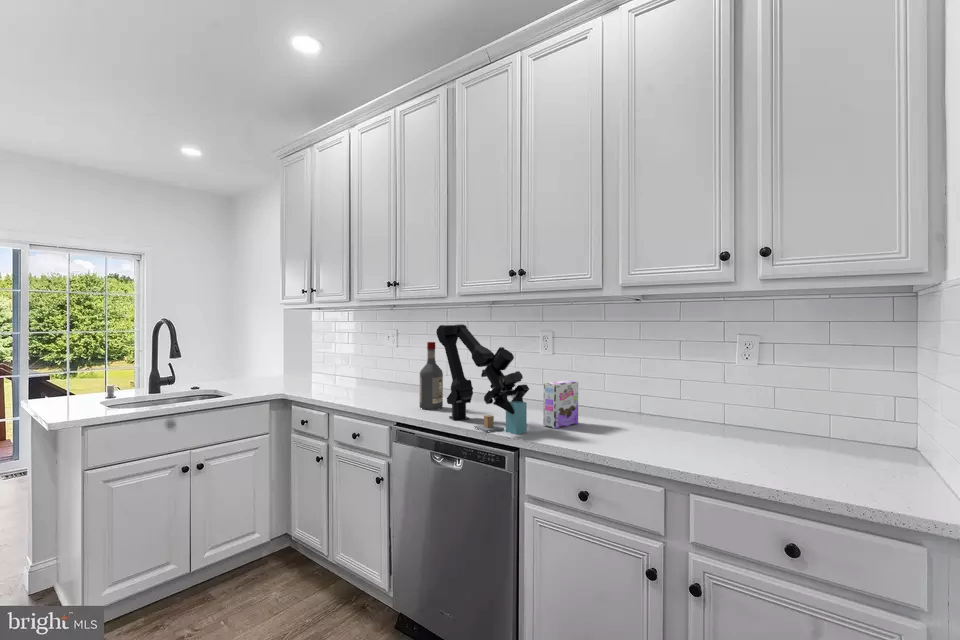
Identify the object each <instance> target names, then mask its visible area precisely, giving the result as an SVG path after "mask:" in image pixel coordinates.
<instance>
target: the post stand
mask: <svg viewBox="0 0 960 640" xmlns="http://www.w3.org/2000/svg"><path fill="white" fill-rule="evenodd" d="M494 418H495V416H494V415H491V414H487V415H484V416H483V424H480V425H473V428H474V427H475V428H477V429H480V430H482V431H484V432H483V433H485V432H486V433H489V432H488V431H493V432H496V431H495V430H500V431H504V430H505V427H503V426H501V425H497V424H494V423H495V422H494V420H495V419H494ZM477 429H476V430H477ZM480 430H479V431H480ZM482 431H481V432H482Z"/></svg>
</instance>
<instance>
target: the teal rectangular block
mask: <svg viewBox="0 0 960 640" xmlns="http://www.w3.org/2000/svg"><path fill="white" fill-rule="evenodd" d="M509 403H510V404H511V406H512V408H513V410H514V412H515V413H514V414H511V413H509V412H508V411H506V410H505V433H509V432H510V434H514V435H520V434H524V432H525V433H527V428H528V427H527V426H528V423H527V415H528V414H527V407H528V406H527V405H528V404H527V402H526V401H523V402H521V401H512V400H511V401H509Z"/></svg>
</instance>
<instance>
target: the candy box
mask: <svg viewBox="0 0 960 640" xmlns="http://www.w3.org/2000/svg"><path fill="white" fill-rule="evenodd" d="M542 423H543V427H546V428H551V429H553V430H554V429H559V428H563V427H569V426H570V427H571V426H573V425H574V426H575V425H578V424H579V382H578V381H575V380H574V381H572V380H561V381H551V382H544V383H543V422H542Z"/></svg>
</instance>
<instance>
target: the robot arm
mask: <svg viewBox="0 0 960 640" xmlns="http://www.w3.org/2000/svg"><path fill="white" fill-rule="evenodd" d="M436 336H437V338H438V342H439V343H440V344H441V345H442V346H443V347H444V350H445V355H446V360H447V363H448V366H449V371H450V374H451V375H450V376H451V378H452V379H451V380H452V381H451V384H450V393H449V395H448V396H447V397H446V401H447V404H448V405H451V415H449V416H448V418H449V419H451V420H454V421H460V420H459V419H463V420H470V418H469V417H468V416H467V404H468V403H469V404H470V403H471V402H472V398H473V394H474V392H473V390H474V388H473V384H472V380H471V379H467V378H466V377H465V374H464V370H463V369H464V368H463V365H462V363H461V362H462V361H461V359H460V355H459V351H458V346H457V343H458V342H457V341H458V339H459V340H460V341H461V343H463V344H464V346H465V347H466V348H467V350H468V351H469V352H470V353H471V360H472V361H473V363H474V364H475V366H476V367H478V368H482V367H485V369H482V370H481V374H480V377H481V378H485V377H487V379H488V381H489V382H490V389H489V390H488V391H487V392H486V393H485V395H484V397H483V400H484V402H485V404H486V405H490V404H493V405H494V406H496V407H499V408H501V409H503V410H504V411H505V412H506V411H508V412H509V413H511V414H514V413H515V412H514V410H513V408H512V406H511V404H510V403H509V402H510V401H509V399H508V397H511V398H512V399H511V401H521V402H524V399H523V398H524V396H526V394H527V393H528V392H529V390H530V387H529V386H528V385H527V384H523V383H522V384H517V383H520V382H522V380H523V378H524V376H523V374H522V373H521V372H520V371H519V370H517V371H514V372H510V373H508V374H506V375H505V374H504V373H503V371H505V370H506V369H507V368H508V367H509V366H510V365H511V363H512V362H513V360H514V358H515V357H514V356H515V355H514V354H513V352H511V351H510V350H507V349H505V347H504V346H500V347H498V348H497V350H496V352H495V354H494V352H493V351H492V350H490V349H489V348H488V347H485V346H483V345H482V344H481V343H480V342H479V341H478V340H477V338H476V337H475V336H474V335H473V334H472V333H471V331H470V330H469V329H468V326H467V325H465V324H463V323H462V324H458V323H457V324H455V325H453V324H443V325H442V324H441V325H439V326H438V327H437V329H436ZM516 384H517V386H516ZM515 386H516V387H515ZM513 388H514V389H513Z"/></svg>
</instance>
